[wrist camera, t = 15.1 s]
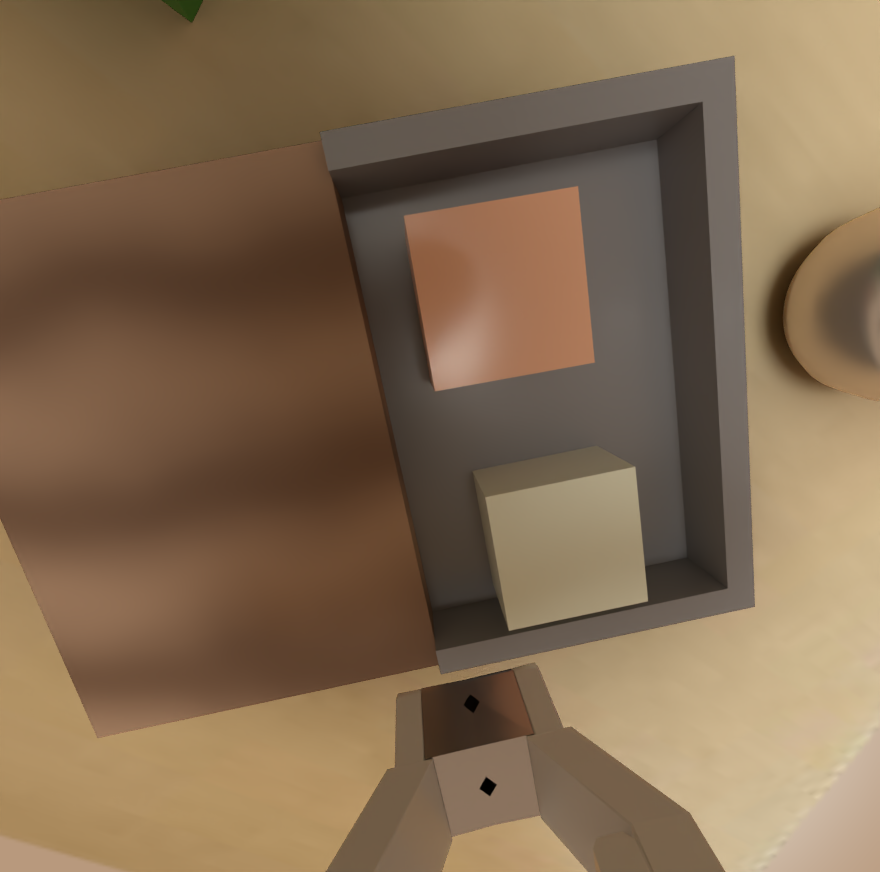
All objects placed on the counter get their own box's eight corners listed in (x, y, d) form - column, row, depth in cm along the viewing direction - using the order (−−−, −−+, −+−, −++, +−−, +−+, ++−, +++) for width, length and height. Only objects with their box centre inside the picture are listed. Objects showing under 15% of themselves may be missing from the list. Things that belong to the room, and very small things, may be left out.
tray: (337, 173, 15) (319, 131, 12) (672, 110, 15) (734, 55, 12) (436, 623, 19) (440, 674, 16) (702, 566, 19) (754, 606, 16)
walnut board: (-41, 243, 15) (-131, 223, 12) (337, 173, 15) (323, 140, 13) (138, 686, 19) (97, 738, 16) (436, 623, 19) (440, 664, 16)
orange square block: (405, 240, 15) (403, 215, 12) (545, 216, 15) (577, 186, 12) (430, 383, 16) (435, 391, 13) (561, 359, 16) (594, 362, 13)
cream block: (472, 470, 17) (485, 497, 14) (596, 445, 17) (635, 466, 14) (493, 584, 18) (509, 631, 15) (609, 559, 18) (648, 601, 15)
